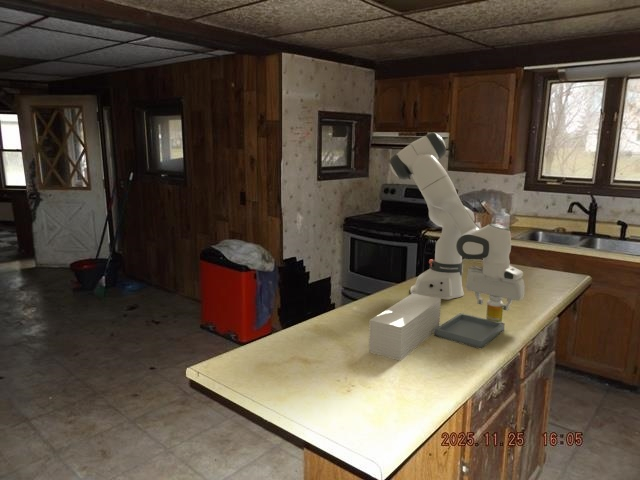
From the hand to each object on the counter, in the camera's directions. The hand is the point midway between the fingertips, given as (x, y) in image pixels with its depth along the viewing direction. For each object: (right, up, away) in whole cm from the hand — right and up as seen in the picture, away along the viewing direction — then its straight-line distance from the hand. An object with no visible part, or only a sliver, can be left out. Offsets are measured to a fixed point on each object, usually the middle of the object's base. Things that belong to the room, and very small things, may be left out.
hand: (492, 306), depth 172 cm
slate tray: (-11, -8, -10) cm, 17 cm away
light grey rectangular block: (-34, -9, -14) cm, 38 cm away
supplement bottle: (+1, -6, +1) cm, 6 cm away
